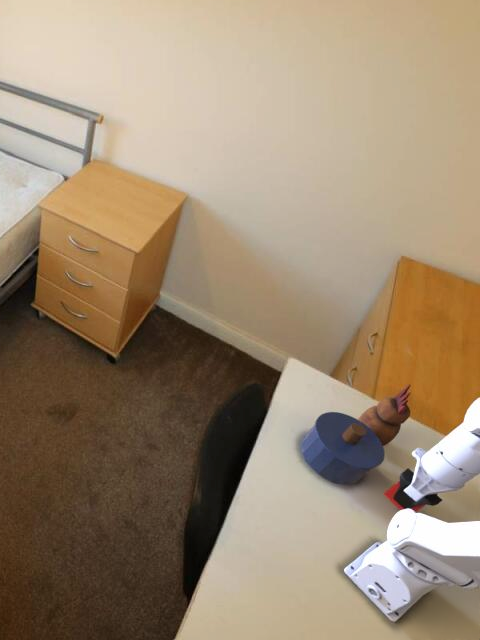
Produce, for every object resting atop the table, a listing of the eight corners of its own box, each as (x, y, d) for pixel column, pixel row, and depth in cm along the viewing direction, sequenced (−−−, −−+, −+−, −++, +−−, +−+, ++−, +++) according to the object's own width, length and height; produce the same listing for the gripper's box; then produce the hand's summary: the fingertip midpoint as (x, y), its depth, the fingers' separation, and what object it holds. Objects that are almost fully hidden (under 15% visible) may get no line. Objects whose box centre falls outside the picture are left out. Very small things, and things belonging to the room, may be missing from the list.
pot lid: (357, 481, 88) (371, 469, 85) (299, 429, 95) (310, 416, 92) (394, 454, 92) (408, 441, 89) (336, 406, 99) (348, 393, 97)
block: (408, 517, 87) (425, 505, 84) (382, 494, 90) (398, 481, 87) (423, 505, 89) (439, 493, 86) (397, 482, 92) (412, 470, 89)
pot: (339, 494, 92) (358, 477, 88) (289, 447, 99) (304, 428, 95) (372, 469, 96) (392, 451, 92) (322, 425, 103) (338, 407, 99)
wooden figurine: (355, 417, 104) (398, 372, 95) (387, 437, 101) (435, 392, 92) (344, 437, 101) (387, 392, 91) (376, 458, 98) (425, 414, 88)
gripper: (456, 417, 85) (408, 458, 94) (407, 454, 80) (360, 494, 88) (506, 453, 80) (450, 492, 89) (457, 495, 75) (402, 533, 84)
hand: (408, 496), depth 89 cm, fingers closed on block, 4 cm apart
